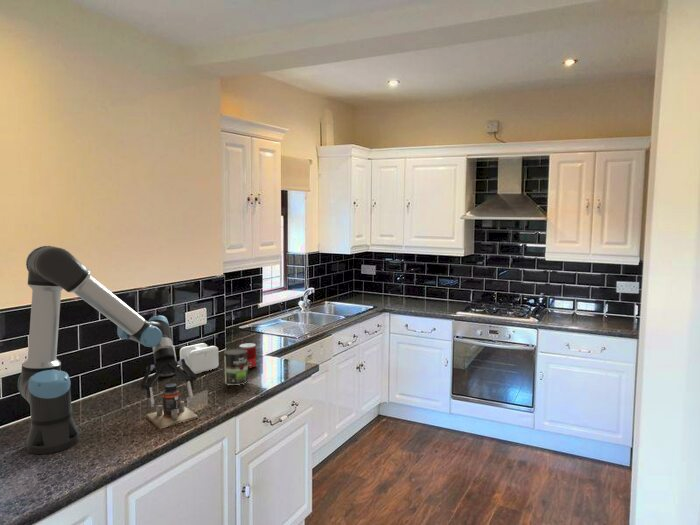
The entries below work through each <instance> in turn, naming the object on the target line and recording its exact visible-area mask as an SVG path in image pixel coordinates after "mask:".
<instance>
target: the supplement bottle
mask: <svg viewBox="0 0 700 525" xmlns="http://www.w3.org/2000/svg"><path fill="white" fill-rule="evenodd" d="M180 392H181V391H180V389H178V386H177V384H176V383H168V384H166V385H165V387H164V391H163V392H162V410H163V412H164V416H165V417H171V410H172V409H177V416H178V415H179V414H180V401H181V394H180Z"/></svg>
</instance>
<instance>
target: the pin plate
mask: <svg viewBox="0 0 700 525" xmlns="http://www.w3.org/2000/svg"><path fill="white" fill-rule="evenodd" d="M155 407H156V408H155V409H156V411H154V412H149V413H146V418H147V419H148V420H149V421H151V422H152V423H153V424H154V425H155V426H156V427H157V428H158V427H159V428H160V430H162V429H164V428H167V427H168V426H169V427H171V425H172V426H175V424H176V425H179V424H178V423H180V424H182V423H181V422H183V423H187V422H190V421H189V420H191V421H194V420H197V419H196V418H198V419H199V415H197V413H195V412H193V411H192V410H190V408H188V407H187V406H185V401H184V400H180V414H179V415H178V416H177V409H172V410H171V417H165V416H164V412H163V404H158V405H156V406H155ZM193 419H194V420H193ZM186 421H187V422H186ZM159 428H158V429H159Z"/></svg>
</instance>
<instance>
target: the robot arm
mask: <svg viewBox="0 0 700 525" xmlns="http://www.w3.org/2000/svg"><path fill="white" fill-rule="evenodd" d="M25 266H26V270H27V271H28V272H27V274H28V275H27V286H28V287H29V288H30V289H31V290H32V291H31V304H30V305H31V308H30V320H29V322H30V323H29V335H28V336H29V337H28V349H27V359H26V360H25V361H24V362H22V363H21V373H20V375H19V376H18V380H17V390H18V393H19V394H20V395H21V397H22V398H24V399H25V401H27V403H28V404H29V411H30V429H29V432H28V434H27V438H26V441H25V442H26V443H25V445H26V451H27V453H29V454H32V455H45V454H46V455H47V454H53V453H57V452H62V451H64V450H67V449H69V448H71V447H73V446H75V445H76V444H77V443H78V442H79V441H80V431H79V429H78V427H77V425H76V423H75V421H74V419H73V408H72V394H71V392H72V391H71V385H72V384H71V379H70V376H69V374H68V373H67V371H63V370H61V367H62V362H61V360H59V359H57V355H58V353H57V352H58V339H59V328H60V327H59V326H60V312H61V299H62V298H61V297H62V290H64V291H66V292H67V293H74V294H75V295H76V296H78V297H79V298H80V299H82V300H83V301H84V302H85V303H87V304H88V305H90V306H91V307H92V308H94V309H95V310H97V312H99V313H100V314H101V315H103V316H105V317H106V318H107V319H108V320H109V321H111V322H112V323H114V324H115V325H116V326H117V330H116V331H117V336H118V338H119V339H122V340H132V341H134V342H136V343H139V344H140V345H143V346H144V347H148V348H152V354H153V359H154V364H151V363H147V365H146V371H145V373H144V375H143V378H142V380H141V382H140V386H139V390H140V391H145V392H146V393H145V395H146V398H147V399H149V400H150V405H151V408H154V407H155V398H154V392H153V387H152V386H153V385H154V383H155V382H156V381H157V379H158V378H159V377H161V376H160V374H163V375H165V374H171V373H174V375H176V376H178V377H179V378H180V379H182V380H184V382H186V387H187V392H188V396H189V401H192V400H193V398H194V394H193V391H194V389H195V386H194V382H197V378H198V376H197V374H194V372H193V371H192V370H191V369H190V368H189V367H188V366H187V364H186V363H185V360H184V359H181V361H180V360H178V361H177V358H176V359H175V354H176V353H175V354H174V350H173V340H172V334H171V328H170V327H171V326H170V324H169V321H168V318H167V317H166V316H164V315H160V314H159V315H154V316H151V317H150V318H149V319H148V320H146V319H145V318H144V317H143V316H142V315H140V314H139V313H138V312H137V311H135V310H134V309H133V308H132V307H131V306H129V305H128V304H127V303H126V302H125V301H123V300H122V299H121V298H119V297H118V296H117V295H115V294H114V293H113V292H112V291H111V290H109V289H108V288H107V287H106V286H104V285H103V284H102V283H101V282H99V281H98V280H97V279H96V278H94V277H93V276H92V275H91V271H90V270H89V269H88V268H87V267H86V266H85V265H83V264H82V263H81V262H80V260H78V259H77V258H76V257H75V256H74V255H73V254H72V253H71V252H70V251H68V250H66V249H65V248H62V247H57V246H54V245H53V246H51V245H43V246H42V245H41V246H39V247H37V248H34V249H32V251H31V252H30V253H28V256H27V257H26V262H25ZM181 366H182V368H183V369H181V368H179V367H181ZM153 370H155V371H156V370H157V371H156V372H155V373H154V374H153V376H152V377H151V379H150V380H149V381H148V379H149V376H150V374H151V372H152V371H153ZM147 381H148V383H147Z"/></svg>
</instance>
